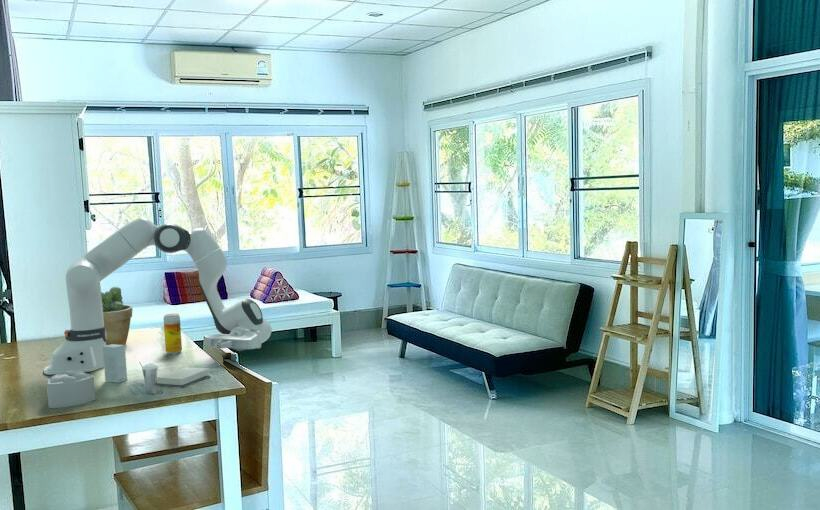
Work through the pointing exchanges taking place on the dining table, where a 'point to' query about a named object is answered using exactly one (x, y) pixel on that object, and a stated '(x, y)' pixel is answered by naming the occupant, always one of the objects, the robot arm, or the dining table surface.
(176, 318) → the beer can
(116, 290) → the potted plant
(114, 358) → the skincare box
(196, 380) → the mat
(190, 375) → the tile
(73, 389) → the lumpy-topped squat cylinder
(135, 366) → the dining table surface
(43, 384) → the dining table surface
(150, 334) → the dining table surface
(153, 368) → the milkshake
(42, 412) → the dining table surface
